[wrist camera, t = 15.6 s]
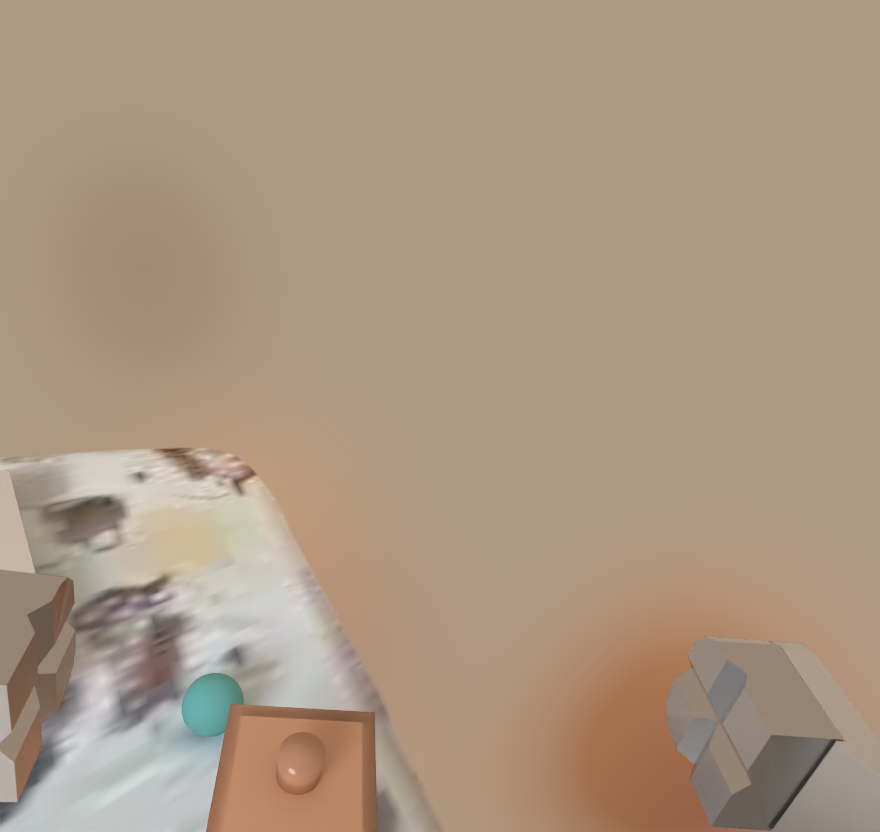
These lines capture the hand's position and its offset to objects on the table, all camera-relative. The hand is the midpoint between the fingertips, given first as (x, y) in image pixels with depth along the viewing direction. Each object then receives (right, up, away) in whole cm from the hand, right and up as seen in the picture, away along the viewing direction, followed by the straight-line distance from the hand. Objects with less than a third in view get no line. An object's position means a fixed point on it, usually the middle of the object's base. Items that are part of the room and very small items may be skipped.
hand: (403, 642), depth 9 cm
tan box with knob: (-7, -19, +21) cm, 29 cm away
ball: (-12, -14, +30) cm, 35 cm away
